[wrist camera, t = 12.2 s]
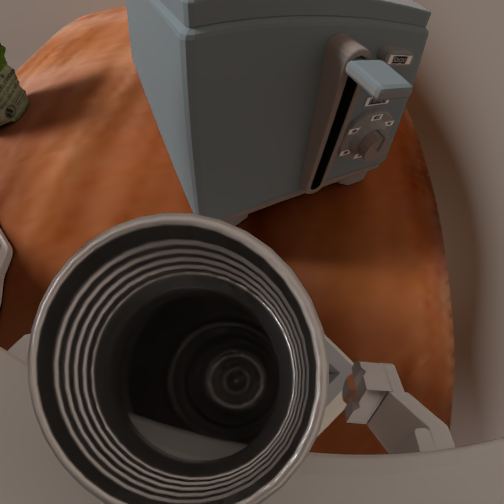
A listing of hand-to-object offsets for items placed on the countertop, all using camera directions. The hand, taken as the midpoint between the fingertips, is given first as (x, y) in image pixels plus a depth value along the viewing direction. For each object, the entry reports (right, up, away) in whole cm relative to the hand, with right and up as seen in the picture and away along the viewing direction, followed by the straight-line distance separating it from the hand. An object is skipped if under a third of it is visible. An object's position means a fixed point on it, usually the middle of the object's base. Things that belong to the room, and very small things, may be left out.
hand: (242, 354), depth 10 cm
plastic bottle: (-1, -6, +11) cm, 13 cm away
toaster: (-1, +19, +23) cm, 30 cm away
